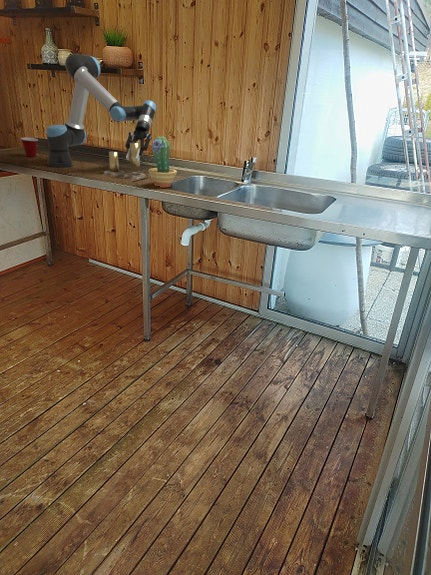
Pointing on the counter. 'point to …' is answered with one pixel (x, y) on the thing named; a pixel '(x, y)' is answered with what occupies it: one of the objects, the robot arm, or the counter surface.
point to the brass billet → (134, 154)
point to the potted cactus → (162, 163)
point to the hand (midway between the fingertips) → (132, 159)
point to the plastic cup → (30, 146)
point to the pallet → (125, 175)
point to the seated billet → (113, 162)
